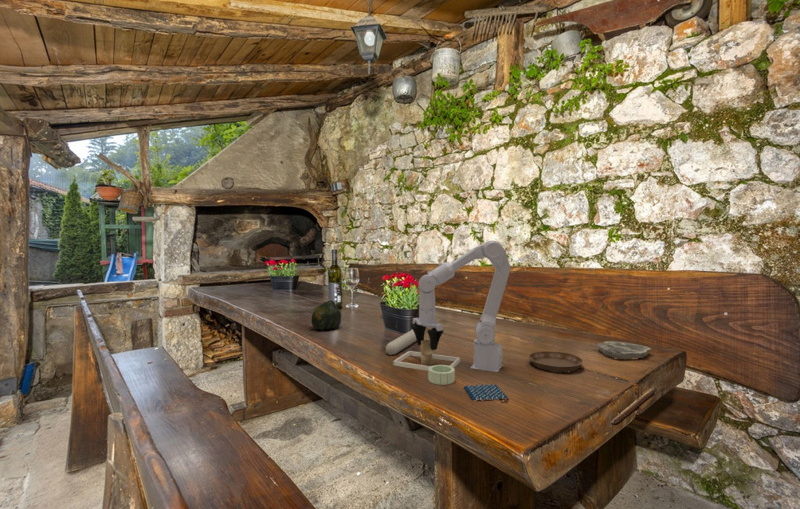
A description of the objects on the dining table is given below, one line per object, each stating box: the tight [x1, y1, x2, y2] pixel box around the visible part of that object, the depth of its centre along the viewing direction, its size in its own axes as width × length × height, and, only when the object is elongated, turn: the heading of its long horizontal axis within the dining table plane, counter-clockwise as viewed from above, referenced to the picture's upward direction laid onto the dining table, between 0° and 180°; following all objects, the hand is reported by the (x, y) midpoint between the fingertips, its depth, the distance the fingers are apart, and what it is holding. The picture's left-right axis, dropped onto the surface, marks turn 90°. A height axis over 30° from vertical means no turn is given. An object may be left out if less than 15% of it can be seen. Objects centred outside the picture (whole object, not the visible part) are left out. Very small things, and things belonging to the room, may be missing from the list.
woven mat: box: [463, 384, 510, 404], centre depth 110 cm, size 10×11×2 cm
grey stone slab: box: [595, 340, 652, 360], centre depth 151 cm, size 20×17×3 cm
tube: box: [385, 328, 417, 356], centre depth 160 cm, size 5×5×25 cm
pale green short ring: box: [427, 364, 456, 386], centre depth 121 cm, size 8×8×4 cm
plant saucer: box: [528, 350, 584, 373], centre depth 137 cm, size 18×18×3 cm
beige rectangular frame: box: [392, 350, 461, 372], centre depth 137 cm, size 20×14×2 cm
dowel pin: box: [420, 339, 433, 366], centre depth 137 cm, size 4×4×8 cm
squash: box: [311, 300, 342, 331], centre depth 193 cm, size 14×15×15 cm
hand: (427, 347), depth 137 cm, fingers open, 7 cm apart
